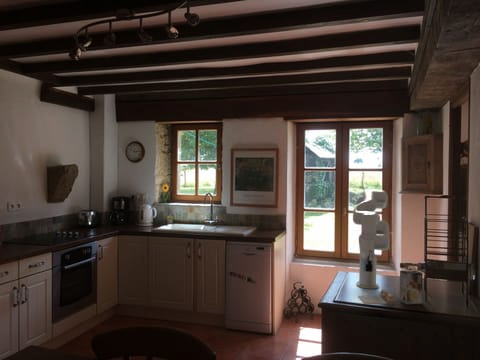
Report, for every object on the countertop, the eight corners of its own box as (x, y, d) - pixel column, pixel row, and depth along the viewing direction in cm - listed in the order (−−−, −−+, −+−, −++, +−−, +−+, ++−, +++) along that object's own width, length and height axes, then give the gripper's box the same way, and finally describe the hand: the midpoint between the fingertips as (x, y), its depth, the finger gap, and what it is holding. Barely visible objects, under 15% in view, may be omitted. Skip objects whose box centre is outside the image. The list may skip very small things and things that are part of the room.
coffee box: (414, 299, 201) (415, 269, 200) (422, 303, 194) (423, 272, 194) (399, 300, 199) (399, 270, 199) (406, 304, 193) (407, 273, 192)
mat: (357, 296, 204) (357, 295, 204) (380, 297, 204) (380, 296, 204) (363, 303, 193) (363, 302, 193) (387, 303, 193) (387, 303, 193)
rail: (381, 296, 205) (381, 289, 204) (385, 296, 204) (385, 289, 204) (389, 304, 193) (389, 296, 192) (393, 304, 192) (393, 296, 192)
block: (361, 269, 204) (362, 258, 204) (371, 269, 203) (371, 259, 203) (363, 271, 200) (363, 260, 200) (373, 271, 199) (373, 260, 199)
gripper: (357, 233, 210) (357, 266, 210) (365, 238, 193) (364, 274, 193) (371, 234, 209) (371, 266, 209) (380, 239, 192) (379, 274, 193)
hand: (367, 270), depth 201 cm, fingers closed on block, 4 cm apart
